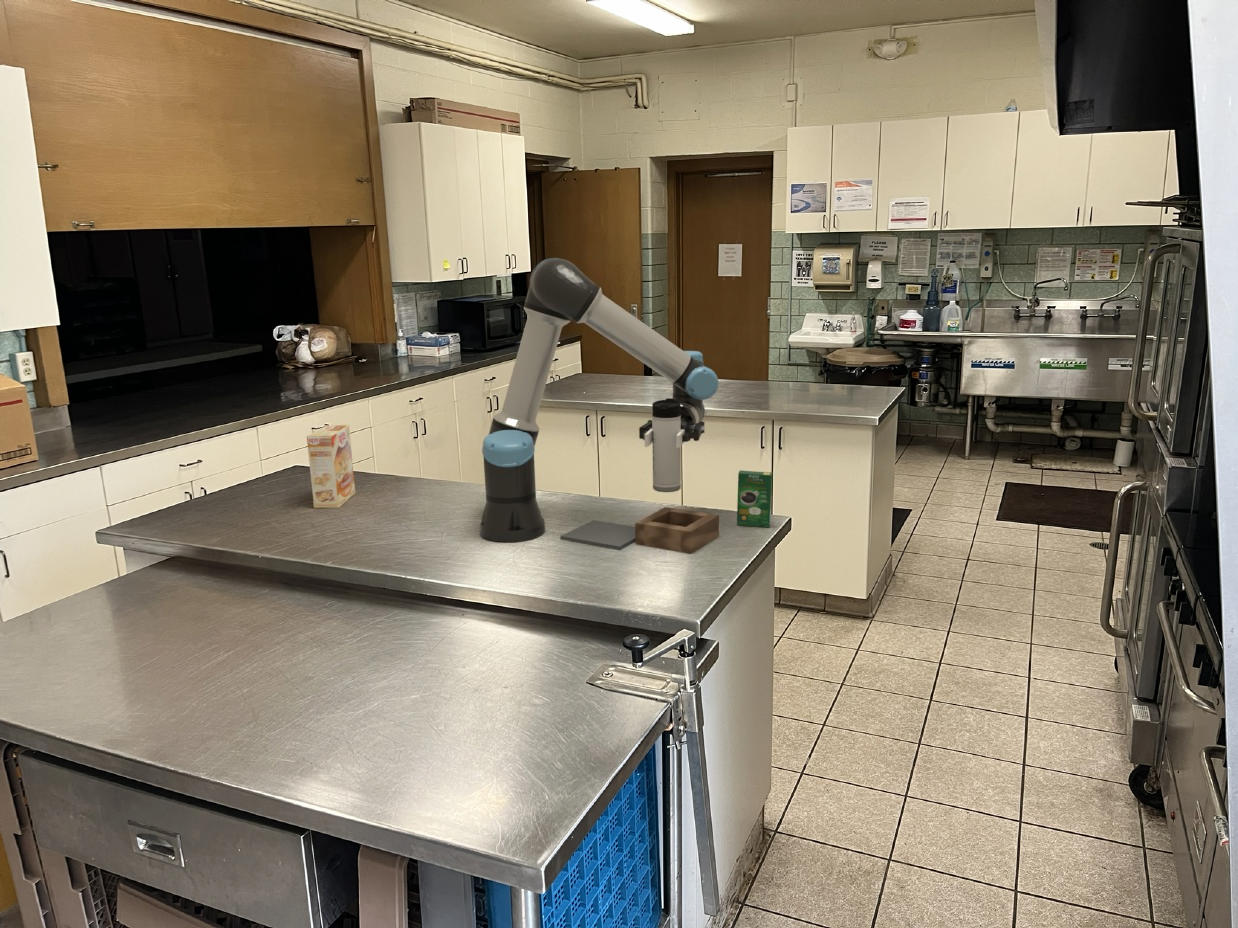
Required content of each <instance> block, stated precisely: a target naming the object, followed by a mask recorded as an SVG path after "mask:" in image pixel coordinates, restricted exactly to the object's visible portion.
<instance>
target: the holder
mask: <svg viewBox="0 0 1238 928" xmlns="http://www.w3.org/2000/svg"><path fill="white" fill-rule="evenodd" d="M634 527H635V542H634V544H635V545H638V546H645V547H651V548H656V549H663V550H666V551H673V552H678V553H679V552H680V553H684V554H690V555H691V554H693V553H695V552H697V551H698V550H700V549H701V548H702V547H704V546H705V545H707V544H709V543H710V542H712V541H713V540H715V539H716V538H718V537H719V536H720V514H714V513H708V512H703V511H697V510H696V511H695V510H688V509H682V508H681V509H680V508H674V507H669V506H667V507H666V506H665V507H664V506H663V508H662V507H661V508H660V509H659V510H656V511H655V512H653V513H650V514H649V515H647V516H645V517H644V518H642V519H639V520H638V521H636V522H634ZM714 538H715V539H714ZM711 540H712V541H711ZM708 542H709V543H708Z"/></svg>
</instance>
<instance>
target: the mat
mask: <svg viewBox="0 0 1238 928" xmlns="http://www.w3.org/2000/svg"><path fill="white" fill-rule="evenodd" d="M559 538H560V540H561V541H569V542H575V543H579V544H586V545H591V546H597V547H600V548H601V547H602V548H608V549H613V550H619V551H620V550H623V549H625V548H626V547H627V546H629V545H632V544H633V543H635V525H627V524H622V523H617V522H616V523H615V522H609V521H603V520H598V519H597V520H595V519H592V520H590V521H589V522H587V523H584V524H582V525H580V526H578V527H576V528H574V529H572V530H570V531H567V532H566V533H563V534H561V535H560V537H559Z"/></svg>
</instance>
